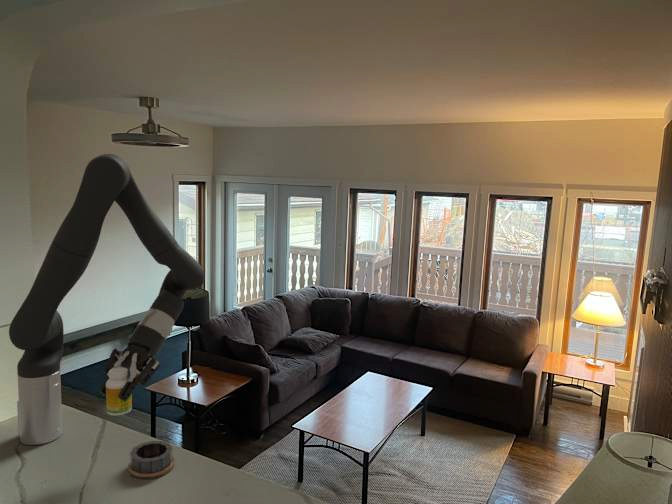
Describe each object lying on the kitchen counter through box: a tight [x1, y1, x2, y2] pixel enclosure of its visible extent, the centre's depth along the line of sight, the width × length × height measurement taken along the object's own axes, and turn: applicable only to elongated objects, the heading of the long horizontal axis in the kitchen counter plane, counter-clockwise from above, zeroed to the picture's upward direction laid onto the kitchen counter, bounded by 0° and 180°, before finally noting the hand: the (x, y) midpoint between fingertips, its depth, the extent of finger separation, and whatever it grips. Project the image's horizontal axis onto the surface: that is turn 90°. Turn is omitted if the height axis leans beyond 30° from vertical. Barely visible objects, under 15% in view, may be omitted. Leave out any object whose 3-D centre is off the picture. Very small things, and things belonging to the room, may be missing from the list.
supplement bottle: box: [105, 366, 133, 416], centre depth 115 cm, size 5×5×10 cm
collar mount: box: [127, 440, 175, 480], centre depth 117 cm, size 10×10×4 cm
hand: (112, 396), depth 114 cm, fingers closed on supplement bottle, 5 cm apart
